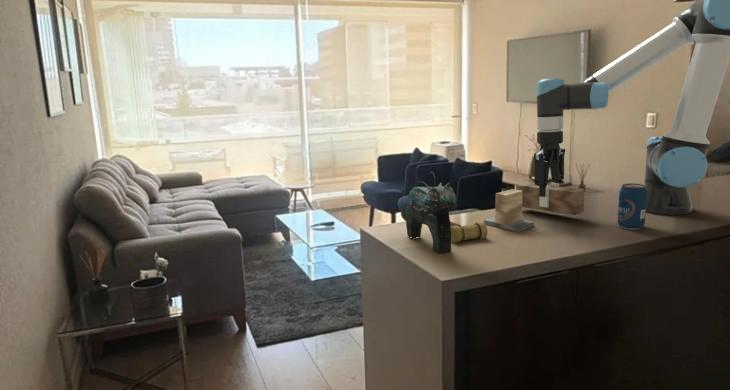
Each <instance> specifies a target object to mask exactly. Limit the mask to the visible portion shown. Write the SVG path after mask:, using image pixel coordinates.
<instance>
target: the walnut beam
mask: <svg viewBox="0 0 730 390" xmlns="http://www.w3.org/2000/svg"><path fill="white" fill-rule="evenodd" d="M547 186H549V207H541V206H539V205H540V196H539V186H536V185H535V183H533V182H532V183H531V182H524V183H520V184H517V185H516V187H517V189H516V190H521V191H522V208H527V209H533V210H538V211H544V212H551V213H557V214H564V215H569V216H577V215H579V214H582V213H584V211H585V209H584V208H585V188H584V189H583V188H577V187H576V188H575V187H568V186H567V187H566V186H560V185H559V186H550V184H547Z"/></svg>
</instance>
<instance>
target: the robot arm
mask: <svg viewBox="0 0 730 390" xmlns="http://www.w3.org/2000/svg"><path fill="white" fill-rule="evenodd" d="M686 45H689V46H692V45H694V48H693V52H692V55H691V59H690V63H689V66H688V69H687V72H686V76H685V79H684V83H683V86H682V89H681V93H680V97H679V101H678V103H677V107H676V110H675V114H674V117H673V120H672V124H671V128H670V130H669V131H666V132H665V133H663V134H662V136H651V137H650V138H648V140H647V144H646V147H645V148H646V154H645V155H646V159H645V173H644V183H643V185H645V189H646V191H647V202H646V213H650V214H655V215H656V214H657V215H666V214H667V215H669V216H672V215H673V216H674V215H675V216H679V215H687V214H690V213H692V210H693V202H692V199H691V195H690V191H689V188H688V187H691V186H694V185H696V184H698V182H700V181H701V180H702V179H704V177H705V175H706V174H707V171H708V168H709V167H708V165H709V164H708V159H707V154H708V151H709V148H710V144H711V142H710V141H709V139H708V138H707V132H708V128H709V126H710V123H711V119H712V116H713V113H714V110H715V107H716V103H717V100H718V97H719V93H720V91H721V87H722V85H723V81H724V78H725V75H726V71H727V68H728V66H729V65H728V64H729V62H730V0H695V1H694V2H693V3H692V4H691V5H690V6H688V7H687V8H686V9H684V10H683V11H682V12H681V13H679V14H677V15H676V16H675V17H673V18H672V21H671V23H670V24H669V25H667V26H665V27H663V28H662V29H661V30H659V31H658V32H656V33H655V34H653V35H651V36H650V37H648V38H647V39H646V40H644V41H642V42H641V43H640V44H638V45H637V46H635V47H633V48H632V49H630V50H629V51H627V52H626V53H624V54H622V55H621V56H619V57H618V58H617V59H615V60H613V61H611V62H610V63H608V64H607V65H605V66H604V67H603V68H601V69H599V70H598V71H597V72H595V73H593V74H592V75H591V76H589V77H587V78H586V79H584V80H583V81H581V82H578V83H574V84H573V83H571V84H570V83H569V84H568V83H567V84H566V83H565V79H564V78H563V77H562V78H561V77H559V78H557V77H556V78H545V79H544V78H543V79H540V80H539V81H537V87H536V88H537V91H536V92H537V93H536V110H537V111H536V113H537V114H536V117H537V118H536V119H537V120H536V124H537V125H536V127H537V132H536V143H537V144H538V145H540V146H539V147H540V148H539V151H538V152H534V153H533V158H534V159H533V160H534V183H533V184H535V185H536V186H539V196H540V205H539V206H541V207H549V186H547V185H548V181H549V176H550V177H551V182H550V183H549V185H550V186H559V187H560V184H563V183H564V179H565V153H566V148H561V145H560V144H563V143H564V131H563V129H564V111H569V110H570V111H571V110H598V109H604V108H606V107H607V106H608V103H609V93H611V92H613V91H614V90H616V89H618V88H619V87H620V86H622V85H624V84H626V83H627V82H629V81H630V80H631V79H634V78H635V77H637V76H639V75H640V74H641V73H643V72H645V71H646V70H648V69H650V68H652V67H653V66H655V65H656V64H658V63H659V62H660V61H662V60H664V59H666V58H668V56H669V57H670V55H672V54H674V53H676V52H677V51H678V50H680V49H681V48H683V47H685V46H686Z"/></svg>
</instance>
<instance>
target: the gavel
mask: <svg viewBox="0 0 730 390" xmlns="http://www.w3.org/2000/svg"><path fill="white" fill-rule="evenodd" d="M450 226H451V235H452V236H451V243H453V244H455V243H460V242H461V241H462V242H463V241H469V240H475V239H478V240H481V239H482V240H483V239H486V238H487V237H488V232H489V231H488V227H487V225H486V224H485V223H484V221H479V222H475V223H474V224H467V225H461V224H460V223H459V224H458V223H456V222H453V221H450Z"/></svg>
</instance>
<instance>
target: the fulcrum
mask: <svg viewBox="0 0 730 390" xmlns="http://www.w3.org/2000/svg"><path fill="white" fill-rule="evenodd" d="M494 205H495V212H494V213H495V216H493V217H490V218H486V219H483V223H485V225H486V226H491V227H494V228H500V229H504V230H508V231H513V232H520V231H524V230H526V229H530V228H532V227H535V222H534V221H531V220H525V219H523V207H522V191H521V190H517V189H514V188H513V189H512V188H511V189H507V190H504V191H500V192H496V193H495V204H494Z"/></svg>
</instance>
